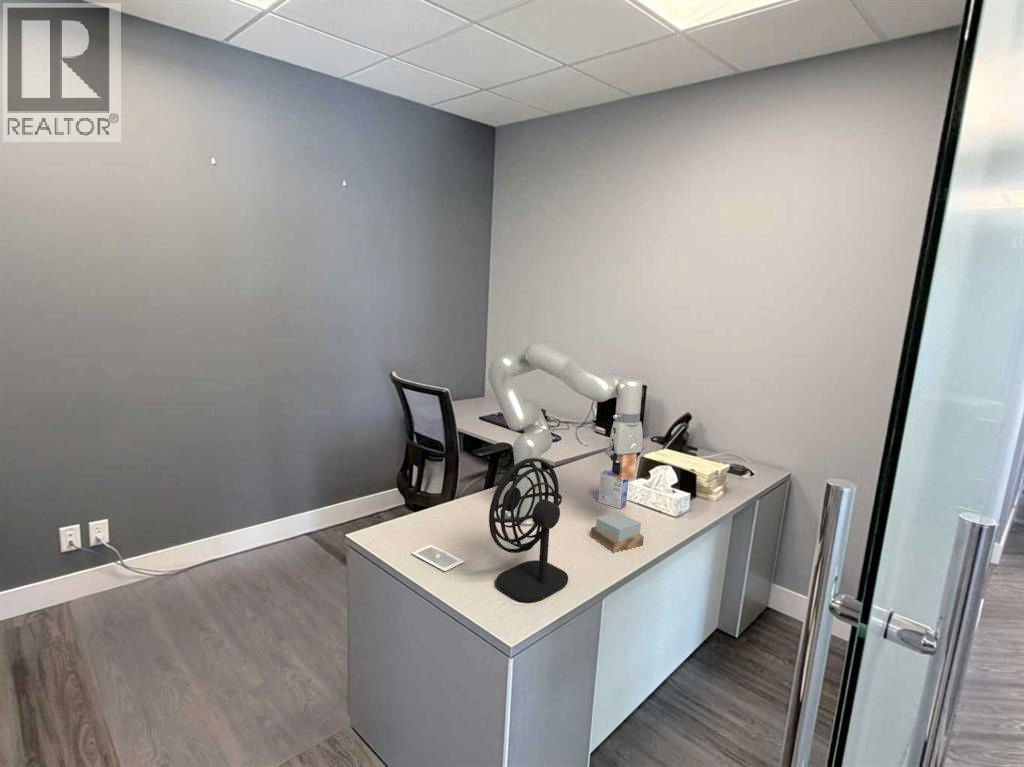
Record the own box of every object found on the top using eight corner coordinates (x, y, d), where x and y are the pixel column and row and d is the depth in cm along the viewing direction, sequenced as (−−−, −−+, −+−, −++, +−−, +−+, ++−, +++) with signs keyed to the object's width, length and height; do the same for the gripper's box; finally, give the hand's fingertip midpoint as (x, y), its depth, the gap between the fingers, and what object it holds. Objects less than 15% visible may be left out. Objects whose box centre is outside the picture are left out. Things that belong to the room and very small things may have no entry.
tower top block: (618, 541, 170) (619, 529, 169) (596, 529, 177) (596, 518, 177) (639, 534, 175) (640, 522, 175) (617, 523, 183) (617, 512, 183)
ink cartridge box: (627, 505, 208) (630, 469, 205) (620, 509, 204) (623, 473, 201) (604, 498, 214) (607, 463, 211) (597, 502, 209) (600, 466, 207)
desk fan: (539, 554, 167) (546, 445, 160) (585, 577, 154) (593, 460, 148) (473, 585, 148) (477, 463, 142) (518, 614, 136) (524, 482, 129)
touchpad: (444, 574, 153) (445, 567, 153) (411, 556, 163) (411, 549, 163) (464, 564, 159) (464, 558, 159) (430, 547, 169) (431, 541, 168)
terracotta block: (621, 479, 170) (623, 455, 168) (611, 474, 174) (613, 451, 173) (634, 478, 172) (636, 454, 170) (624, 473, 176) (626, 449, 175)
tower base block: (612, 554, 169) (613, 543, 169) (590, 538, 180) (591, 527, 179) (642, 547, 175) (643, 536, 174) (619, 532, 185) (620, 521, 185)
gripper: (612, 422, 163) (608, 479, 166) (656, 418, 170) (651, 473, 173) (598, 416, 169) (594, 471, 172) (641, 413, 177) (636, 466, 180)
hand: (623, 472), depth 173 cm, fingers closed on terracotta block, 5 cm apart
